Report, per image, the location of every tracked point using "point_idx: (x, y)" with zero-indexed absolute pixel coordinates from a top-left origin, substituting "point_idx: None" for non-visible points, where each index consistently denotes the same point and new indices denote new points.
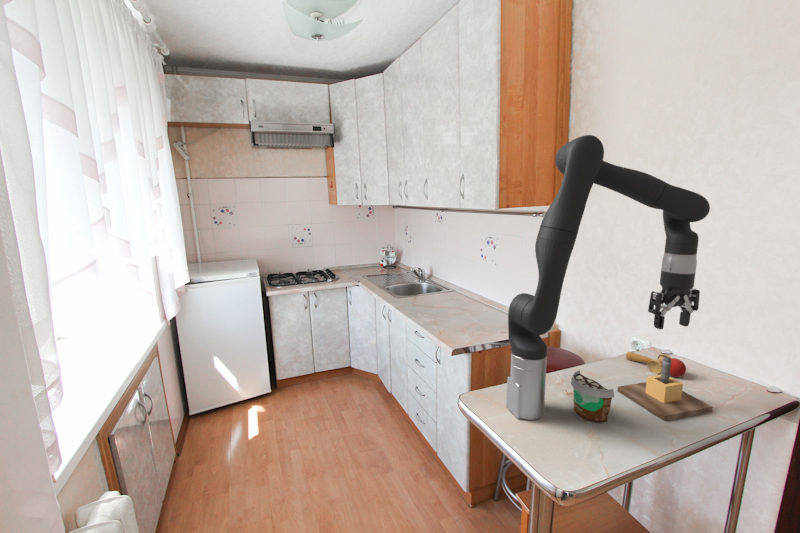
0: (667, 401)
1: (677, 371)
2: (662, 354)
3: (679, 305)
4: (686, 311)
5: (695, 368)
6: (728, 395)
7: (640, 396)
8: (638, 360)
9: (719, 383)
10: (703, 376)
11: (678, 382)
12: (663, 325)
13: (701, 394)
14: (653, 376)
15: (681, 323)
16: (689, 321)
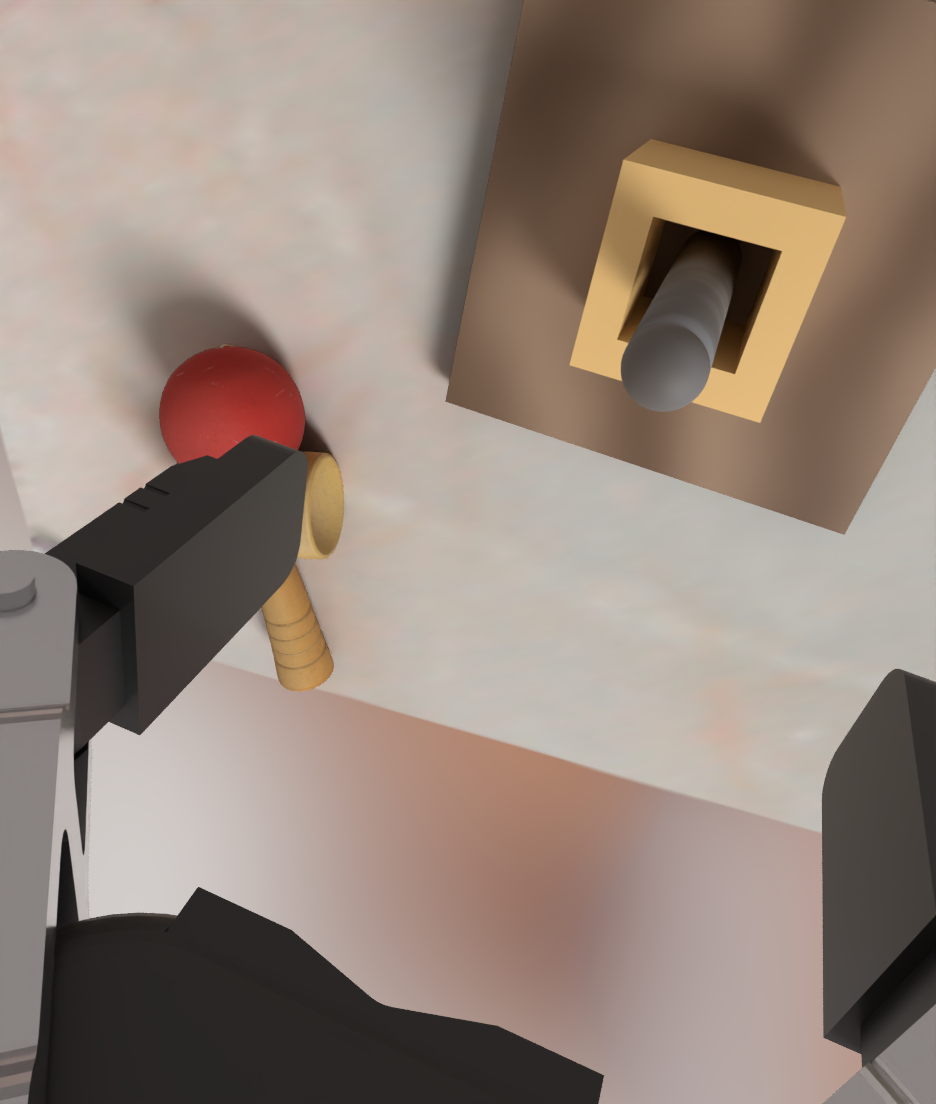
0: (802, 177)
1: (272, 376)
2: None
3: (277, 971)
4: (84, 661)
5: (56, 361)
6: (188, 17)
7: (872, 359)
8: (311, 609)
9: (91, 160)
10: (102, 275)
11: (633, 198)
12: (918, 719)
13: (349, 139)
14: (700, 393)
15: (282, 548)
16: (165, 473)
